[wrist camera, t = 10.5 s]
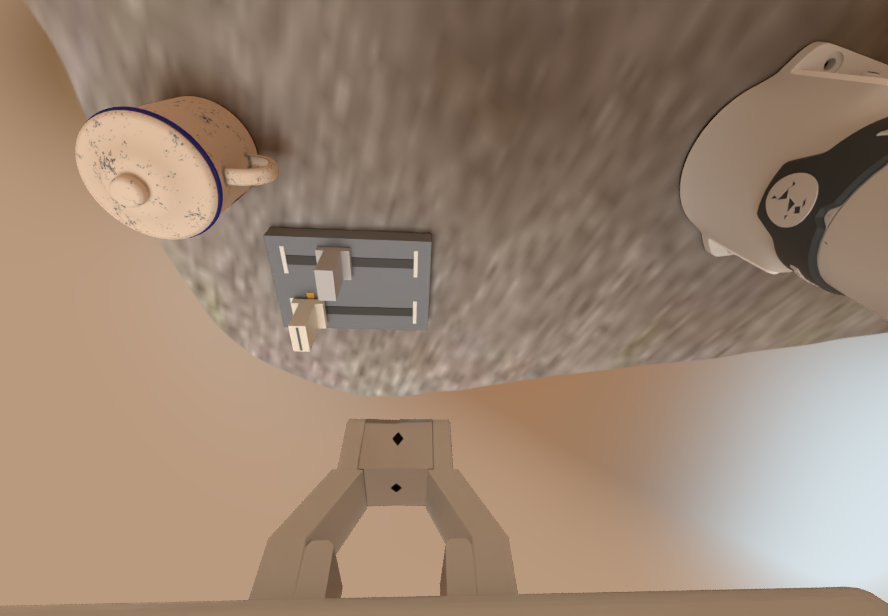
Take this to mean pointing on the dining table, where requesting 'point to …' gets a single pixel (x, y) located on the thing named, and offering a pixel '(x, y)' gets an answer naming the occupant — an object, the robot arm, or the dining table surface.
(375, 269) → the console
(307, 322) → the cap
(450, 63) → the dining table surface
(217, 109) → the teacup with lid
